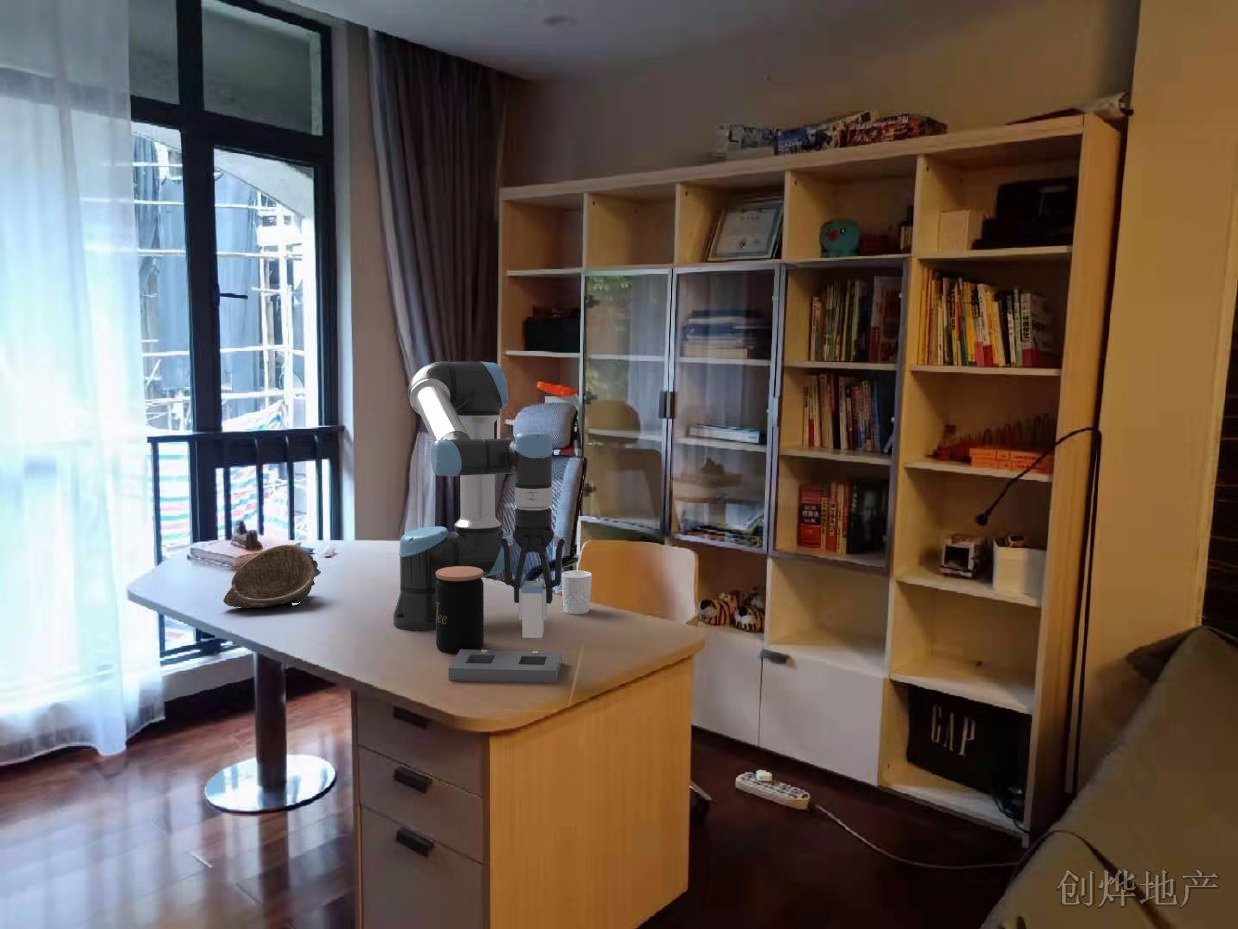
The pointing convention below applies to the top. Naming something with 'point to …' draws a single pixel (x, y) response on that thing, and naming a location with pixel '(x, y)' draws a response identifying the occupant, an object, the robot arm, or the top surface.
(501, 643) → the top surface
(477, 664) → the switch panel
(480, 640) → the coffee jar
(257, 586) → the coconut shell half
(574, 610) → the white cup
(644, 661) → the top surface
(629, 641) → the top surface
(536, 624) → the milk carton
